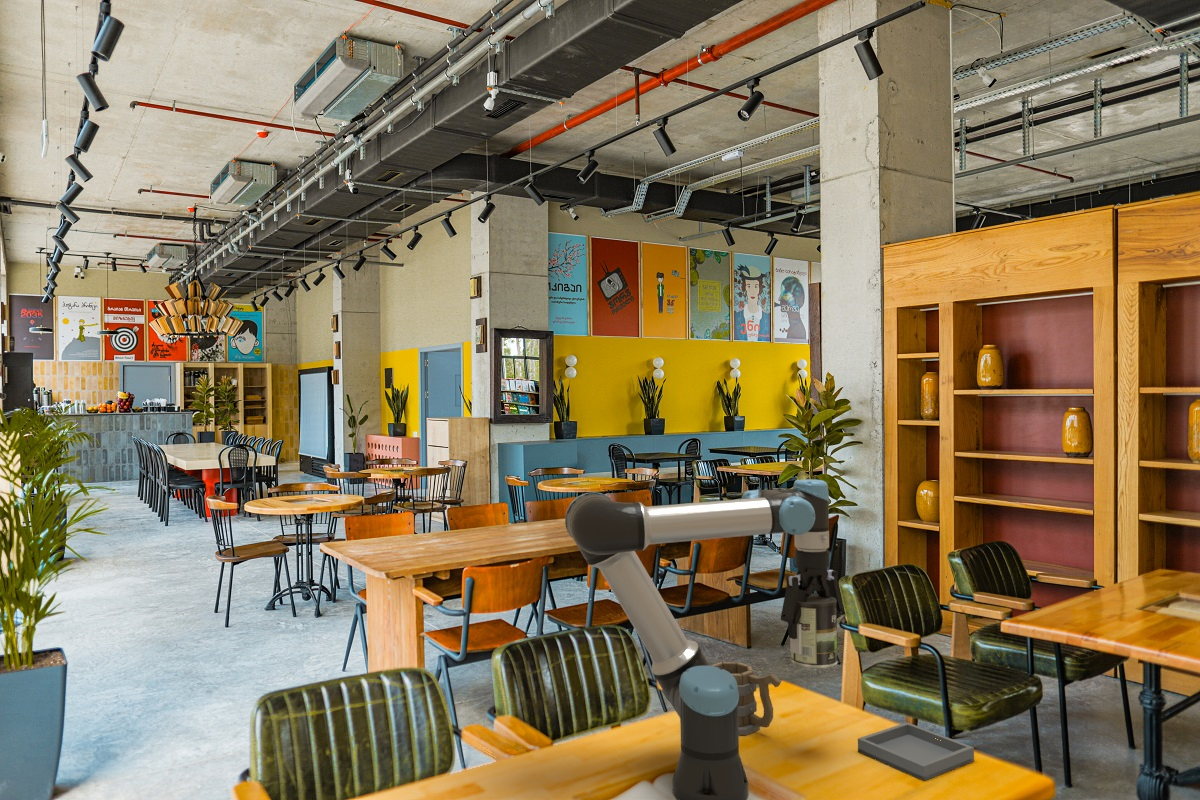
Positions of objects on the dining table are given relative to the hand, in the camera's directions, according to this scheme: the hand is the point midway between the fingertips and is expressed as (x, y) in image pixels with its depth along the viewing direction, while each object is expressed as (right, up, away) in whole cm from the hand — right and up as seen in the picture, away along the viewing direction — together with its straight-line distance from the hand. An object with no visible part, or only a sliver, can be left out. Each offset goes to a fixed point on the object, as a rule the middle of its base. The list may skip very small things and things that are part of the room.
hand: (813, 649), depth 178 cm
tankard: (-13, -24, +14) cm, 30 cm away
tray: (+22, -23, -3) cm, 32 cm away
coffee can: (0, -3, 0) cm, 3 cm away
